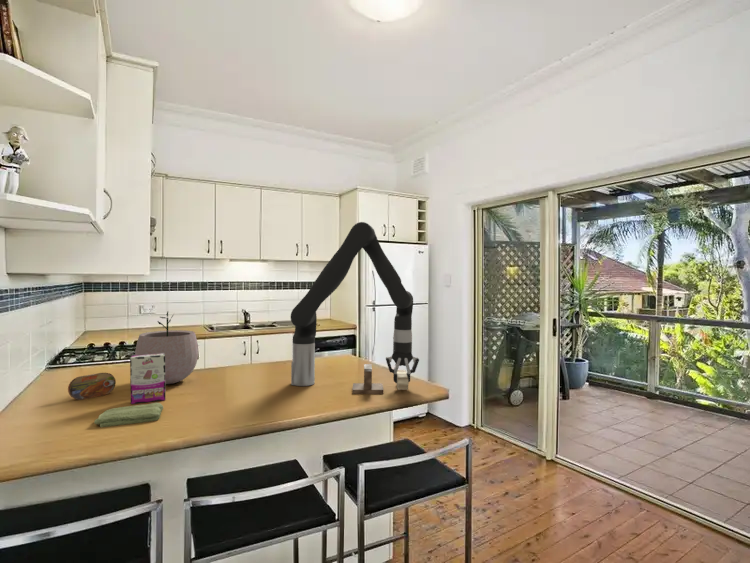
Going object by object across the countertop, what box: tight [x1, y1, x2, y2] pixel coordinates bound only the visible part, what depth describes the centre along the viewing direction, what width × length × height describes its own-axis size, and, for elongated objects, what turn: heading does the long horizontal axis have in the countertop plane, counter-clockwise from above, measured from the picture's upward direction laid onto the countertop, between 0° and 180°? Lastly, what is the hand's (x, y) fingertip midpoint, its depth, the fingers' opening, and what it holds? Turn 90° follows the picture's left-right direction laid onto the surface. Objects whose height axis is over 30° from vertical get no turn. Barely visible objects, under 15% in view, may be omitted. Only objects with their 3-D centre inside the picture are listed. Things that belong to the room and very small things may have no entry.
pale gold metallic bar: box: [396, 369, 409, 391], centre depth 173 cm, size 16×4×4 cm, turn 0°
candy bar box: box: [129, 353, 166, 405], centre depth 154 cm, size 11×5×16 cm, turn 118°
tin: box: [67, 372, 117, 401], centre depth 159 cm, size 15×3×8 cm, turn 143°
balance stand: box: [351, 363, 384, 395], centre depth 171 cm, size 12×10×10 cm
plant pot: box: [134, 311, 199, 385], centre depth 180 cm, size 24×24×30 cm
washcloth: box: [93, 402, 164, 428], centre depth 135 cm, size 13×18×3 cm
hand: (401, 382), depth 173 cm, fingers closed on pale gold metallic bar, 4 cm apart
